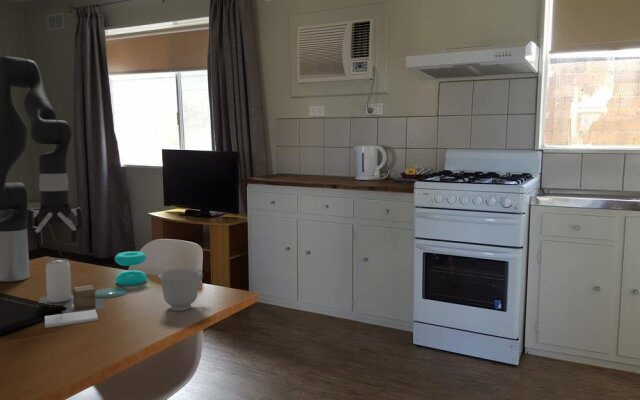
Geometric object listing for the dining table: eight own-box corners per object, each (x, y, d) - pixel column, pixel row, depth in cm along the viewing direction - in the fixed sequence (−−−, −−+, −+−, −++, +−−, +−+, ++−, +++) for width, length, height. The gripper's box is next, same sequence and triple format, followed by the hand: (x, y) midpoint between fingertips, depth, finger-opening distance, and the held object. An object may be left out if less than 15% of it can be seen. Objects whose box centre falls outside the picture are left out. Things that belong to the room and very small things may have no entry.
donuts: (115, 257, 167) (113, 251, 176) (116, 287, 168) (114, 280, 177) (148, 255, 171) (144, 249, 180) (148, 284, 172) (145, 277, 181)
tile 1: (40, 297, 156) (40, 297, 156) (80, 293, 161) (80, 293, 161) (36, 308, 146) (36, 307, 146) (79, 303, 150) (79, 303, 150)
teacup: (217, 303, 152) (217, 269, 151) (182, 317, 139) (181, 281, 138) (186, 297, 158) (186, 265, 157) (149, 310, 145) (148, 275, 144)
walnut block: (73, 304, 149) (73, 287, 149) (92, 301, 152) (91, 284, 152) (76, 308, 145) (75, 291, 145) (95, 305, 148) (94, 288, 148)
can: (75, 297, 156) (74, 258, 155) (63, 303, 150) (61, 263, 149) (55, 296, 157) (53, 257, 156) (42, 302, 150) (40, 262, 149)
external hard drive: (98, 323, 136) (45, 330, 130) (95, 314, 143) (45, 321, 137) (98, 317, 136) (44, 324, 130) (95, 308, 143) (44, 315, 137)
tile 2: (64, 302, 152) (64, 301, 152) (105, 298, 156) (104, 297, 156) (62, 313, 142) (62, 313, 142) (105, 309, 146) (105, 308, 146)
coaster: (92, 291, 163) (92, 289, 163) (126, 288, 167) (126, 286, 167) (92, 300, 154) (92, 298, 154) (127, 296, 158) (127, 294, 158)
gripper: (81, 187, 156) (83, 240, 158) (27, 188, 151) (30, 243, 152) (80, 189, 149) (83, 244, 151) (24, 190, 144) (27, 248, 145)
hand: (56, 243), depth 152 cm, fingers open, 8 cm apart
